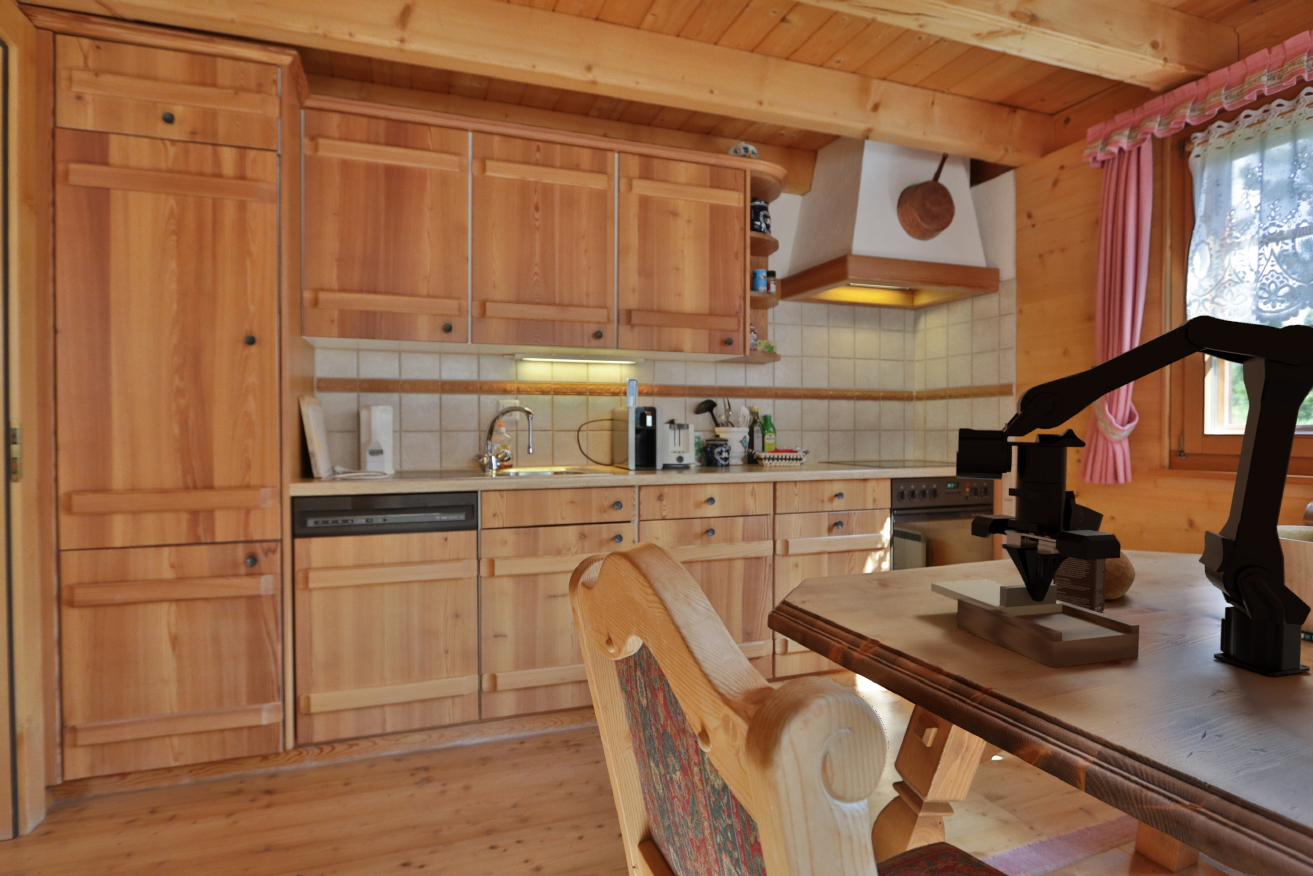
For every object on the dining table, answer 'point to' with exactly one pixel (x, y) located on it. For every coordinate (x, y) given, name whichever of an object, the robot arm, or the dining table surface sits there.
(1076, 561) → the box
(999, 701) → the dining table surface
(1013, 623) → the walnut box
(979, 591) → the cover plate
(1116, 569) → the bread roll
